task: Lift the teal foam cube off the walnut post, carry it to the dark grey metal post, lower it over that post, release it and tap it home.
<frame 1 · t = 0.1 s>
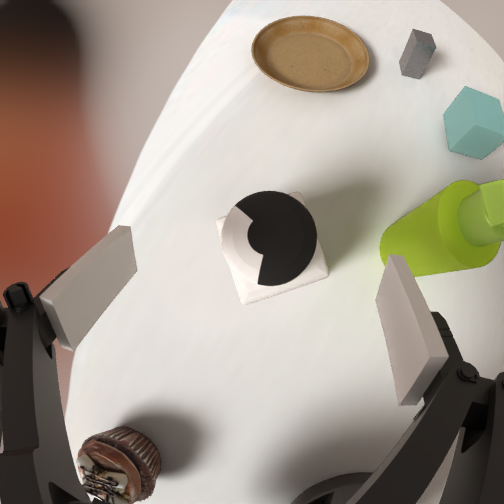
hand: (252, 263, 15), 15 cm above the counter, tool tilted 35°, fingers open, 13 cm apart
medicine bottle: (275, 257, 30), on the counter
teal foam cube: (462, 136, 28), point 1 cm above the counter, touching post walnut
cupcake: (133, 452, 29), on the counter
post grey: (409, 70, 31), on the counter
soap dispenser: (400, 250, 29), on the counter
plant saucer: (310, 61, 33), on the counter
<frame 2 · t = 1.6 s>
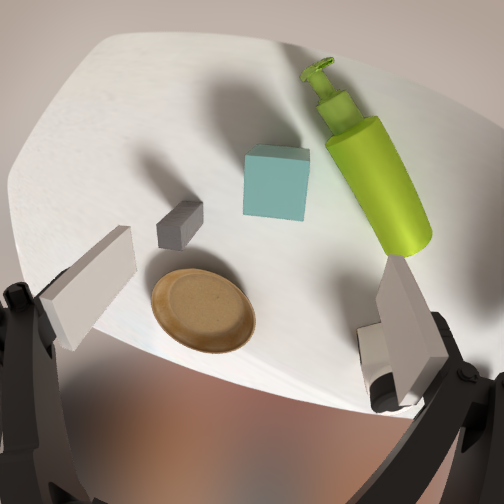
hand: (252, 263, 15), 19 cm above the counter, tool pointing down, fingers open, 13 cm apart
medicine bottle: (382, 337, 40), on the counter
teal foam cube: (281, 170, 30), point 1 cm above the counter, touching post walnut
post grey: (192, 212, 35), on the counter
soap dispenser: (411, 243, 29), point 3 cm above the counter
plant saucer: (206, 303, 42), on the counter
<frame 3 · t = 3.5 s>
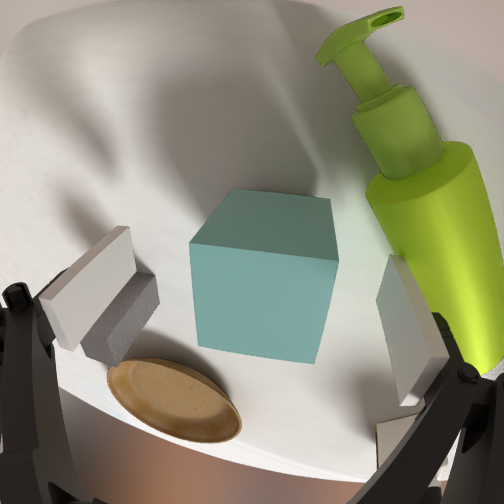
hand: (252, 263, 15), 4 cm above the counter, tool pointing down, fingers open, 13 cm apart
medicine bottle: (406, 428, 27), on the counter
teal foam cube: (277, 237, 17), point 1 cm above the counter, touching post walnut
post grey: (142, 287, 22), on the counter
soap dispenser: (477, 347, 15), point 3 cm above the counter, touching gripper
plant saucer: (179, 389, 29), on the counter
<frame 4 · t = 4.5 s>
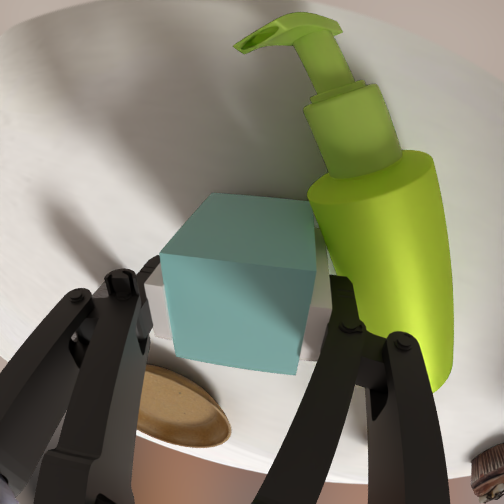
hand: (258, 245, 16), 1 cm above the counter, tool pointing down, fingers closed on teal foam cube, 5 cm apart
teal foam cube: (259, 241, 17), point 1 cm above the counter, touching gripper, post walnut
cupcake: (490, 452, 30), on the counter
soap dispenser: (409, 372, 17), point 3 cm above the counter, touching gripper
plant saucer: (167, 394, 29), on the counter
when the fingers open (3 cm above the counter, at t = 9.4 s): teal foam cube drops 1 cm, resting on post grey.
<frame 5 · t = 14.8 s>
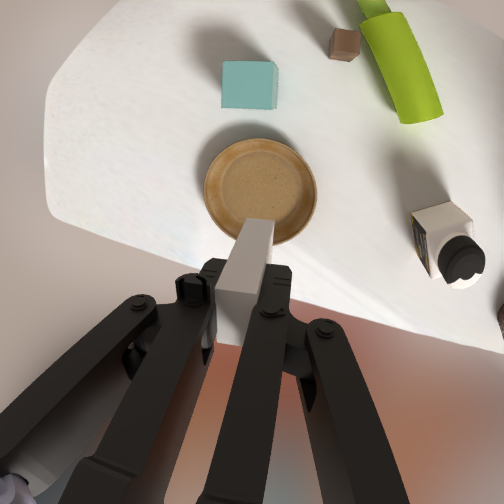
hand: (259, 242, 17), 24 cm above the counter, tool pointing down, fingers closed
medicine bottle: (433, 227, 39), on the counter
teal foam cube: (256, 87, 33), point 1 cm above the counter, touching post grey
soap dispenser: (421, 120, 29), point 3 cm above the counter
plant saucer: (261, 189, 41), on the counter
post walnut: (339, 51, 30), on the counter
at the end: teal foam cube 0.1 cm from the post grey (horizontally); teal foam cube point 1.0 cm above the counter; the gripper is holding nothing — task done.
